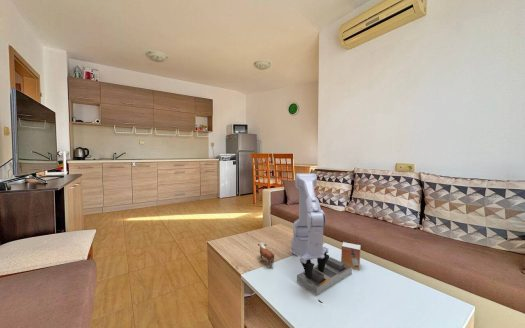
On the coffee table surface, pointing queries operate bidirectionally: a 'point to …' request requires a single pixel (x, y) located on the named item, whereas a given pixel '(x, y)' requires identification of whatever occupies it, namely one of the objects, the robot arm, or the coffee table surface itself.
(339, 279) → the rack
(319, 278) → the dark grey block piece
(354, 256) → the small box
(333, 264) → the dark grey rectangular block
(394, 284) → the coffee table surface
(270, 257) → the bull figurine
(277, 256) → the coffee table surface
